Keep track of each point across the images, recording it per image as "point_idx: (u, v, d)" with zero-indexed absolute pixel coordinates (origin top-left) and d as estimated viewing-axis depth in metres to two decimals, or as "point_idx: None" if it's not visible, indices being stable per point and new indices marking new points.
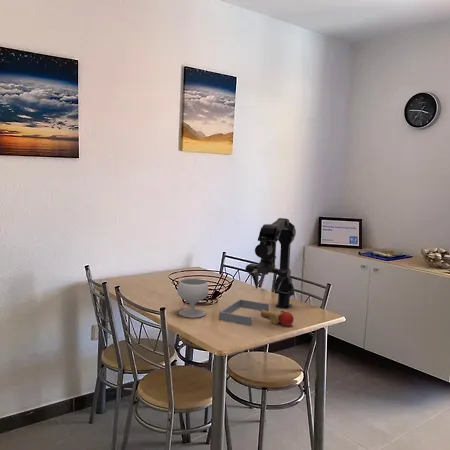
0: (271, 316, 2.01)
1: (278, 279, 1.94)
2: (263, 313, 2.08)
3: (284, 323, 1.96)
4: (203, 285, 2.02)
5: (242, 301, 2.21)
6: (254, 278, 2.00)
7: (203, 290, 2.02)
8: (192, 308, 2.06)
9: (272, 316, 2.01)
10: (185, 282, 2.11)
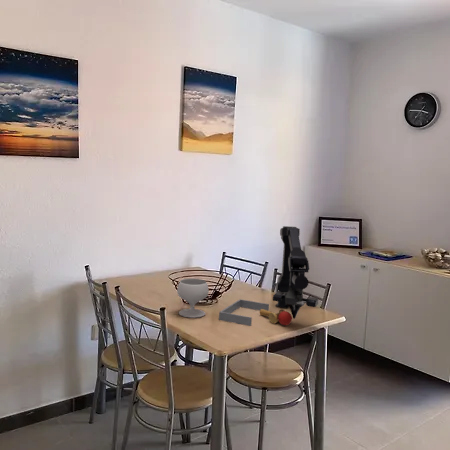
0: (270, 315, 2.01)
1: (296, 306, 1.97)
2: (262, 312, 2.08)
3: (283, 322, 1.96)
4: (203, 285, 2.02)
5: (242, 301, 2.21)
6: (291, 309, 1.98)
7: (203, 290, 2.02)
8: (192, 308, 2.06)
9: (271, 315, 2.01)
10: (185, 282, 2.11)
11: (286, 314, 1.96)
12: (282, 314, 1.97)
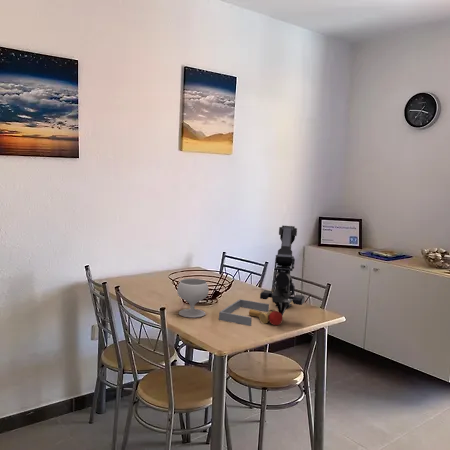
0: (260, 316, 2.01)
1: (283, 304, 1.99)
2: (251, 313, 2.08)
3: (274, 322, 1.96)
4: (203, 285, 2.02)
5: (242, 301, 2.21)
6: (278, 306, 2.01)
7: (203, 290, 2.02)
8: (192, 308, 2.06)
9: (261, 316, 2.01)
10: (185, 282, 2.11)
11: (277, 314, 1.97)
12: (273, 314, 1.97)
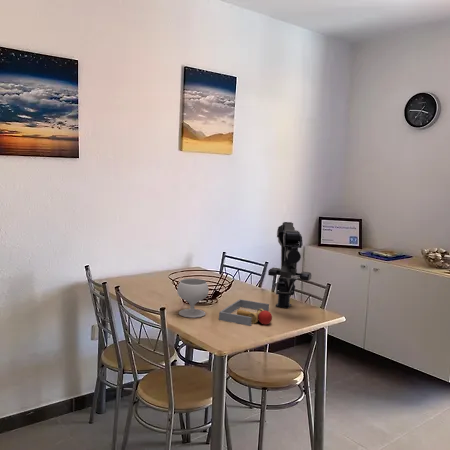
0: (249, 315, 2.00)
1: (290, 281, 2.07)
2: (240, 313, 2.07)
3: (264, 322, 1.96)
4: (203, 285, 2.02)
5: (242, 301, 2.21)
6: (286, 283, 2.09)
7: (203, 290, 2.02)
8: (192, 308, 2.06)
9: (250, 315, 2.00)
10: (185, 282, 2.11)
11: (267, 313, 1.97)
12: (263, 314, 1.97)
